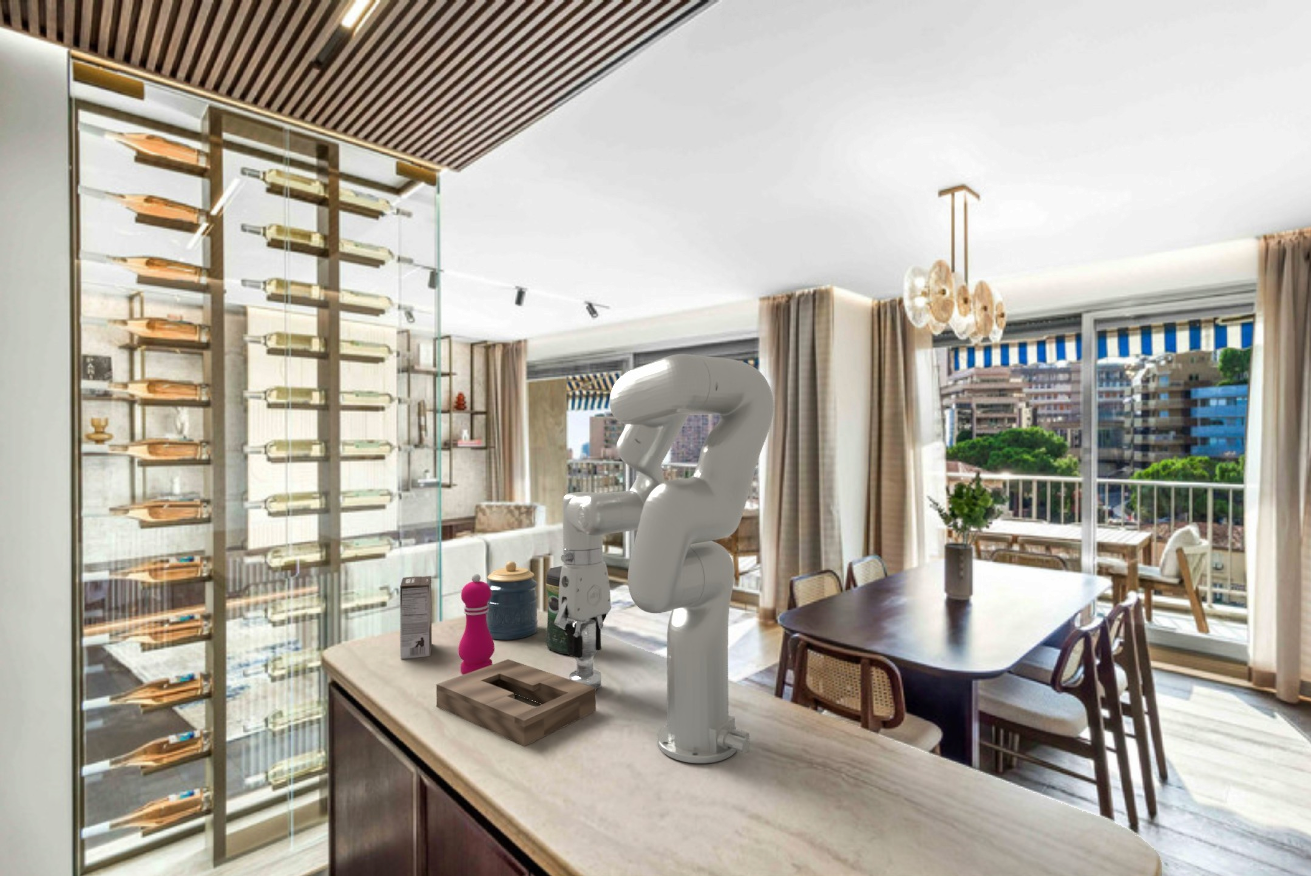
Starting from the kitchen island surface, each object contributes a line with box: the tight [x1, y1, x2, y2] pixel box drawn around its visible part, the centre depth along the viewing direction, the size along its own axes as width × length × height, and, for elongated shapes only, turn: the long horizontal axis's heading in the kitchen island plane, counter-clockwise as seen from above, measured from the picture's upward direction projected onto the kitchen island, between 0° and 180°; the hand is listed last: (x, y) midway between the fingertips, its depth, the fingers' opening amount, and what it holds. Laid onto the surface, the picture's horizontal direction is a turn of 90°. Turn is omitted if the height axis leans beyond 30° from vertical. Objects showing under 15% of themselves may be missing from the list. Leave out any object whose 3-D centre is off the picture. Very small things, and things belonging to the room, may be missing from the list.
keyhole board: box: [435, 658, 597, 747], centre depth 111 cm, size 24×16×4 cm, turn 52°
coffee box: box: [399, 575, 433, 660], centre depth 142 cm, size 9×6×16 cm
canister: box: [486, 560, 539, 641], centre depth 155 cm, size 13×13×18 cm
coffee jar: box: [545, 565, 573, 655], centre depth 143 cm, size 10×8×19 cm
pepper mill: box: [457, 573, 495, 675], centre depth 130 cm, size 7×7×20 cm
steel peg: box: [568, 619, 602, 690], centre depth 120 cm, size 6×6×12 cm
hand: (584, 651), depth 120 cm, fingers closed on steel peg, 4 cm apart
